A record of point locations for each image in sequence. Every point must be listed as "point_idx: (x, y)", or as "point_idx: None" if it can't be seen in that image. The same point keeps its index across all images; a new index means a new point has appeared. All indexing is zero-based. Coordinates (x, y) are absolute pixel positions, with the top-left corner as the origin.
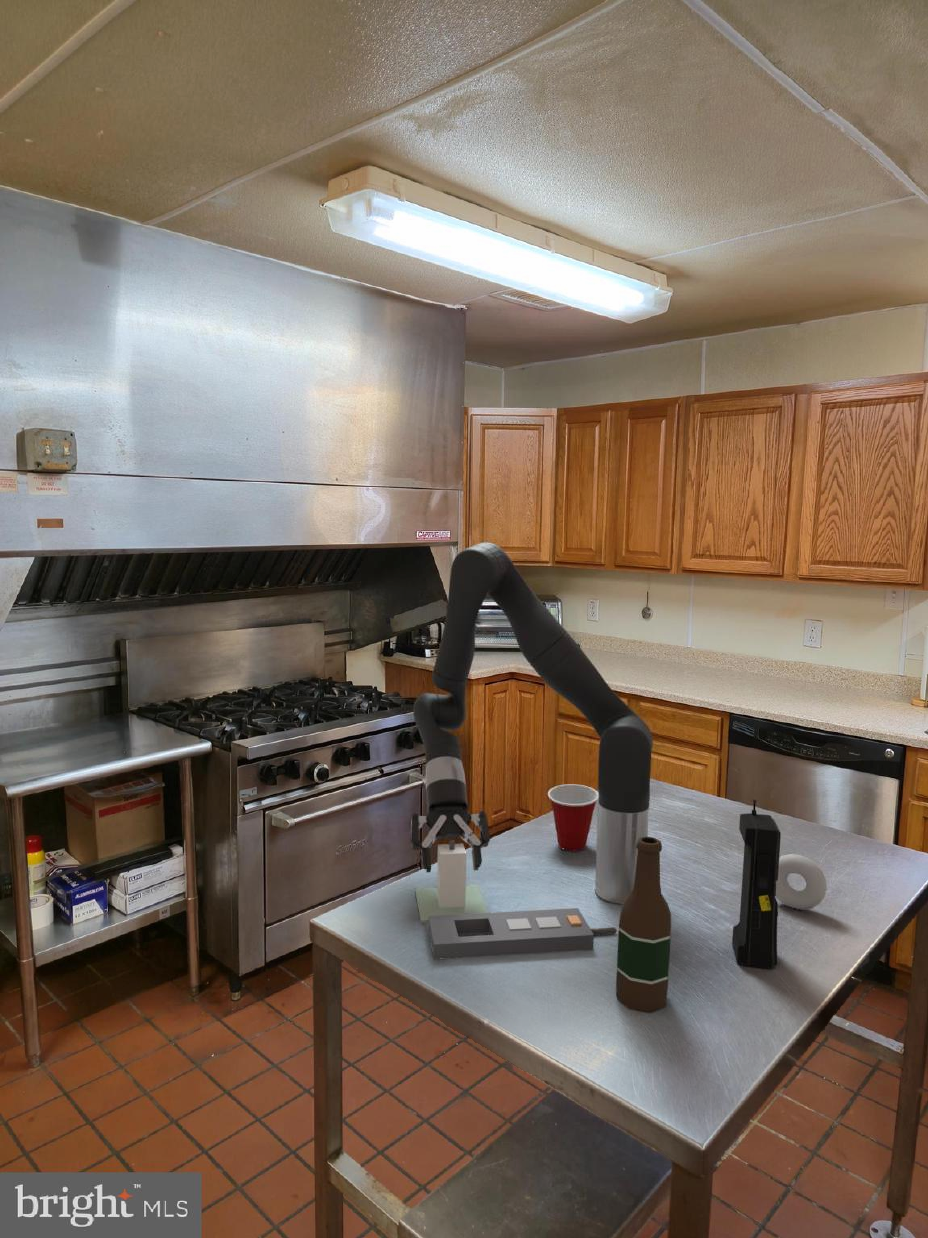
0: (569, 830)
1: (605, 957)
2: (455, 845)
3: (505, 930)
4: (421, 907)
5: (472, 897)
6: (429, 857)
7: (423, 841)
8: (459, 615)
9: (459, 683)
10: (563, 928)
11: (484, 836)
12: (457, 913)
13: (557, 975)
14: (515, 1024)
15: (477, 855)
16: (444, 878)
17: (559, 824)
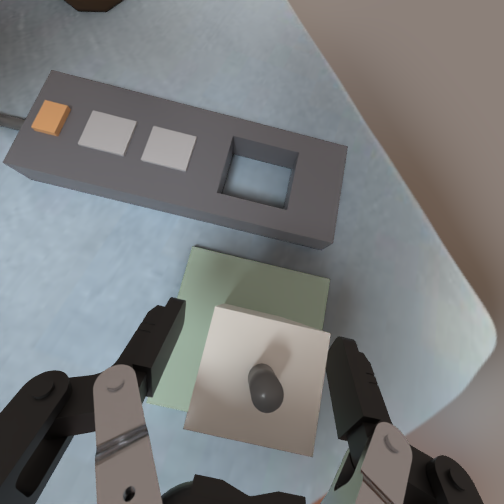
0: None
1: (69, 72)
2: (230, 415)
3: (205, 140)
4: None
5: (190, 341)
6: (354, 372)
7: (409, 468)
8: None
9: None
10: (91, 107)
11: (43, 409)
12: (250, 281)
13: (172, 64)
14: (277, 11)
15: (155, 326)
16: (285, 319)
17: None
